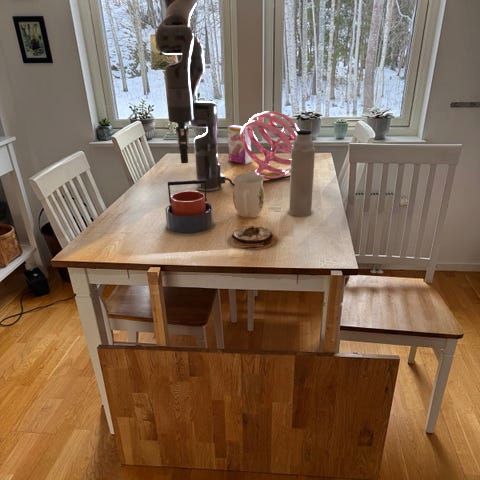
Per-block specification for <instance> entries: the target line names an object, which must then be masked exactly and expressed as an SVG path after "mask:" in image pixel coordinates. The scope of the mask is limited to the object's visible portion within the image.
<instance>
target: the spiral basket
mask: <svg viewBox="0 0 480 480" xmlns="http://www.w3.org/2000/svg"><path fill="white" fill-rule="evenodd" d="M279 117H281V118H279ZM282 118H283V119H284V120H285V121H287V122H288V123H289V124H290V125H291V126H292V127H293V128H292V127H291V126H290V125H289V124H288V123H287V122H285V121H284V120H283V119H282ZM254 119H257V120H254ZM263 119H268V123H266V122H265V121H263ZM276 123H277V124H278V125H280V126H281V127H283V128H282V130H280V129H279V128H278V126H277V124H276ZM253 127H257V129H258V131H259V133H260V135H261V136H262V138H263V139H264V140H265V141H266V143H268V144H269V145H270V146H271V149H270V150H268V149H266V148H265V147H264V146H263V145H262V144H261V143H260V142H259V140H258V138H257V137H256V135H255V134H254V133H255V132H254V131H253ZM245 128H247V132H248V135H249V138H250V140H251V144H253V146H254V147H255V148H256V149H257V150H258V151H259V153H260V154H262V156H264V159H263V160H262V159H261V158H259V157H258V156H257V155H256V154H255V153H254V152H253V150H252V149H251V150H250V148H249V147H248V145H247V143H246V141H245V138H244V129H245ZM285 130H286V131H287V132H288V133H289V134H287V133H286V132H285ZM298 130H300V129H299V127H298V126H297V124H296V123H295V121H294V120H293V119H292V118H291V117H290V116H288V115H286V114H285V113H281V112H278V111H275V110H266V111H263V112H261V113H257V114H254V115H253V116H252V117H251V118H249V120H248V122H247V123H245V124H244V125H243V128H242V130H241V133H240V139H241V143H242V145H243V147H244V149H245V151H246V152H247V154H248V155H249V156H250V157H251V160H253V162H255V163H256V164H257V165H258V167H257V169H256V170H254V171H255V172H256V173H257V174H259V175H261V176H263V179H264V180H270V179H275V178H280V177H284V176H288V175H290V173H291V159H287V158H282V157H279V156H277V155H276V152H277V151H279V152H281V153H285V154H291V148H292V147H293V146H294V145H293V142H294V141H295V140H296V136H297V131H298ZM268 132H269V133H271V134H273V135H274V136H276V138H277V139H276V140H275V139H274V138H272V137H271V135H270V134H269V133H268ZM292 141H293V142H292ZM281 142H282V143H283V144H284V145H282V143H281ZM271 162H273V163H276V164H279V165H284V166H290V167H289V168H288V169H282V168H281V169H280V168H277V167H274V166H272V165H270V163H271ZM263 171H268V172H272V173H274V174H278V176H266V175H265V174H261V173H262V172H263Z"/></svg>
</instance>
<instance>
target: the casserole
mask: <svg viewBox="0 0 480 480" xmlns="http://www.w3.org/2000/svg"><path fill="white" fill-rule="evenodd" d="M205 205H206V212H204V213H201V214H197V215H190V216H180V215H174V214H172V206H171V204H169V205H167V206H166V207H165V208H164V209H165V210H164V211H165V219H166V227H167V229H168V231H170V232H172V233H175V234H181V235H192V234H199V233H203V232H206V231H208V230H210V229H211V228H213V226H214V214H213V213H214V212H213V206H212V204H210V203H208V202H205Z"/></svg>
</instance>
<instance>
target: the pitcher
mask: <svg viewBox="0 0 480 480" xmlns="http://www.w3.org/2000/svg"><path fill="white" fill-rule="evenodd" d="M255 171H256V170H247V171H245V172H244V173H241V174H238V175H235V176H234V177H233V183H234V184H235V186H234V188H233V193H232V200H233V205H234V208H235V210H236V212H237V214H238V215H239V216H240V217H242V218H243V217H244V218H251V219H254V218H258V217H259V215H260V214H261V212H262V211H263V207H264V203H265V189H264V186H263V180H264V178H263V176H261V175H262V174H261V175H259V174H257V173H256V172H255Z"/></svg>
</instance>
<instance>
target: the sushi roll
mask: <svg viewBox="0 0 480 480" xmlns="http://www.w3.org/2000/svg"><path fill="white" fill-rule="evenodd" d="M231 237H232V239H233V241H234V242H236V244H238V245H241V246H243V247H240V249H241V250H250V251H251V250H262V249H267V248H270V247H272V246H273V245H274V244H275V243H276V242H277V237H276V236H275V235H274V234H273V233H272V231H271V230H269V229H268V228H266V227H263V226H255V225H248V226H243V227H240V228H237V229H235V230H234V231H232V235H231Z"/></svg>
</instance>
